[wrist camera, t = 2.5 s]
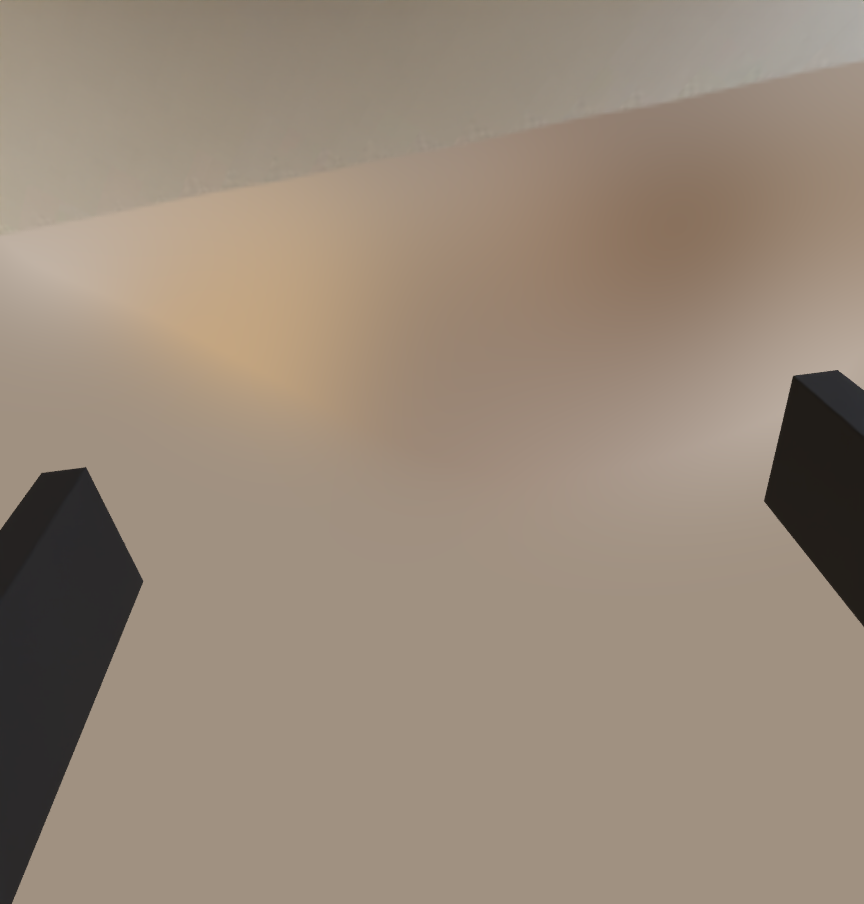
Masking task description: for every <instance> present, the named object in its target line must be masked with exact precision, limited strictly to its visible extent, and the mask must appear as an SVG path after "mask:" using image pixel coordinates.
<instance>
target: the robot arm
mask: <svg viewBox="0 0 864 904" xmlns="http://www.w3.org/2000/svg"><path fill="white" fill-rule="evenodd" d="M764 502H765V503H766V504H767V505H768V507H769V508H770V509H771V510H772V512H773V513H774V514H775V515H776V517H777V518H778V519H779V520H780V522H781V523H782V524H783V525H784V527H785V528H786V529H787V531H788V532H789V533H790V534H791V536H792V537H793V538H794V539H795V541H796V542H797V543H798V544H799V546H800V547H801V548H802V549H803V551H804V552H805V553H806V555H807V556H808V557H809V558H810V559H811V561H812V562H813V563H814V564H815V566H816V567H817V568H818V570H819V571H820V572H821V573H822V574H823V576H824V577H825V578H826V580H827V581H828V582H829V583H830V585H831V586H832V587H833V589H834V590H835V591H836V592H837V593H838V595H839V596H840V597H841V598H842V600H843V601H844V602H845V604H846V605H847V606H848V607H849V609H850V610H851V611H852V612H853V614H855V616H856V617H857V619H858V620H859V621H860V622H861V623H862V625H863V626H864V390H863V389H861V388H860V387H859V386H857V385H856V384H855V383H854V382H852V381H851V380H850V379H848V378H847V377H846V376H844V375H843V374H842V373H841V372H839V371H838V370H835V371H827V372H820V373H812V374H804V375H796V376H793V379H792V384H791V388H790V392H789V396H788V400H787V405H786V409H785V413H784V418H783V422H782V426H781V431H780V435H779V439H778V443H777V448H776V452H775V456H774V461H773V465H772V470H771V474H770V478H769V482H768V487H767V491H766V495H765V500H764ZM142 583H143V580H142V578H141V576H140V574H139V572H138V570H137V568H136V566H135V564H134V562H133V560H132V558H131V556H130V554H129V552H128V550H127V548H126V546H125V544H124V542H123V540H122V538H121V536H120V534H119V532H118V530H117V528H116V526H115V524H114V522H113V520H112V518H111V516H110V514H109V512H108V510H107V508H106V507H105V504H104V502H103V500H102V499H101V496H100V494H99V492H98V490H97V488H96V486H95V484H94V482H93V480H92V478H91V476H90V474H89V472H88V470H87V468H86V467H85V468H78V469H70V470H62V471H54V472H46V473H41V475H40V476H39V477H38V479H37V480H36V482H35V483H34V484H33V486H32V487H31V489H30V490H29V491H28V493H27V494H26V495H25V497H24V498H23V500H22V501H21V502H20V504H19V505H18V506H17V508H16V509H15V511H14V512H13V513H12V515H11V516H10V518H9V519H8V520H7V522H6V523H5V524H4V526H3V527H2V529H1V530H0V904H12V902H13V899H14V897H15V894H16V892H17V889H18V887H19V884H20V882H21V880H22V877H23V875H24V872H25V870H26V867H27V865H28V862H29V860H30V858H31V855H32V852H33V850H34V848H35V845H36V843H37V841H38V838H39V836H40V833H41V830H42V828H43V826H44V823H45V821H46V818H47V816H48V814H49V811H50V809H51V806H52V804H53V801H54V799H55V796H56V794H57V792H58V789H59V786H60V784H61V782H62V779H63V776H64V774H65V772H66V769H67V767H68V765H69V762H70V760H71V757H72V755H73V752H74V750H75V747H76V745H77V742H78V740H79V738H80V735H81V733H82V730H83V728H84V725H85V723H86V720H87V718H88V715H89V713H90V711H91V708H92V706H93V703H94V701H95V698H96V696H97V694H98V691H99V689H100V686H101V683H102V681H103V679H104V676H105V674H106V671H107V669H108V666H109V664H110V662H111V659H112V657H113V654H114V652H115V649H116V647H117V645H118V642H119V640H120V637H121V635H122V632H123V630H124V627H125V625H126V622H127V620H128V618H129V615H130V613H131V610H132V608H133V605H134V603H135V600H136V598H137V596H138V593H139V591H140V588H141V586H142Z"/></svg>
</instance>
